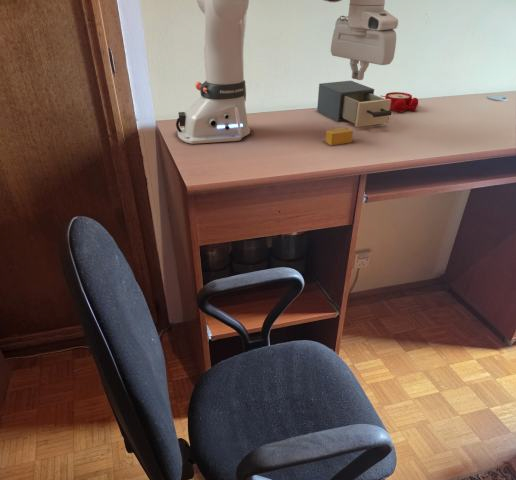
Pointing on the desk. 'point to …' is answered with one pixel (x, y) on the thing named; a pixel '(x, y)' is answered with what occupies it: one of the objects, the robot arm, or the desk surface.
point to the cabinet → (337, 97)
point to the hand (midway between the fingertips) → (357, 79)
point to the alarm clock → (401, 101)
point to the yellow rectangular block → (339, 136)
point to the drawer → (365, 109)
